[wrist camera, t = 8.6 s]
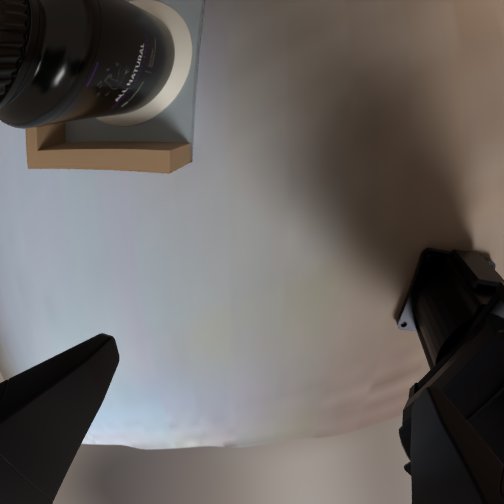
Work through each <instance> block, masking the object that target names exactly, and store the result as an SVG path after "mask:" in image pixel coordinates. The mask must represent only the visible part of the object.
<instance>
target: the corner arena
mask: <svg viewBox="0 0 504 504" xmlns="http://www.w3.org/2000/svg"><path fill="white" fill-rule="evenodd" d="M127 2H129V3H131V4H134V5H136V6H138V7H139V8H141V9H143V10H145V11H147V12H149V13H151V14H152V15H154V16H156V17H157V18H159V19H160V20H161V21H162V22H163V23H164V24H165V25H166V26H167V27H168V29H169V31H170V33H171V35H172V38H173V41H174V46H175V59H174V65H173V69H172V72H171V74H170V77H169V79H168V81H167V83H166V84H165V86H164V87H163V89H162V90H161V92H160V93H159V94H158V95H157V96H156V97H155V98H154V99H153V100H152V101H151V102H149V103H148V104H147V105H145V106H144V107H142V108H140V109H138V110H136V111H133V112H130V113H126V114H121V115H113V116H105V117H97V118H89V119H82V120H75V121H69V122H63V123H57V124H51V125H46V126H41V127H34V128H26V150H27V164H28V169H95V170H120V171H138V172H154V173H168V174H170V173H172V172H173V171H175V170H177V169H179V168H181V167H182V166H184V165H186V164H188V163H190V162H192V152H193V130H194V112H195V97H196V83H197V70H198V59H199V48H200V38H201V28H202V19H203V11H204V3H205V0H127Z"/></svg>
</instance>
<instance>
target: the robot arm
mask: <svg viewBox="0 0 504 504" xmlns="http://www.w3.org/2000/svg"><path fill="white" fill-rule="evenodd" d="M429 254H431V256H430V257H429V258H426V257H427V255H429ZM403 322H405V323H404V324H402V323H403ZM397 326H398V328H399V329H400V330H408V331H417V333H418V336H419V339H420V341H421V344H422V347H423V350H424V352H425V355H426V358H427V361H428V364H429V367H430V371H429V372H428V373H427V374H426V375H425V376H424V377H423V378H422V379H421V380H420V381H419V382H418V383H415V384H414V385H413V386H412V387H411V388H410V391H409V399H408V401H407V403H406V405H405V407H404V410H403V422H402V425H403V426H401V427H400V429H399V436H400V439H401V444H402V447H403V449H404V451H405V453H406V455H407V457H408V458H409V460H410V462H409V463H407V464H406V465H405V466H404V469H405V470H406V472H408V473H409V474H410V475H411V477H412V504H504V280H503V279H502V277H501V276H500V275H499V274H498V273H497V272H496V271H495V264H494V262H493V261H492V260H489V259H485V258H484V257H483V256H482V255H481V254H476V253H471V252H466V251H461V250H456V249H455V250H452V251H451V252H448V251H443V250H438V249H432V248H427V249H425V250H424V251H423V252H422V254H421V257H420V260H419V263H418V266H417V269H416V272H415V274H414V277H413V280H412V283H411V286H410V288H409V291H408V294H407V296H406V299H405V302H404V304H403V307H402V309H401V312H400V314H399V317H398V319H397ZM118 363H119V353H118V349H117V345H116V341H115V339H114V337H113V336H110V335H107V334H103V333H101V334H98V335H96V336H94V337H92V338H90V339H88V340H86V341H84V342H82V343H80V344H78V345H76V346H74V347H72V348H70V349H68V350H66V351H64V352H62V353H60V354H58V355H56V356H54V357H52V358H50V359H48V360H46V361H44V362H42V363H40V364H38V365H36V366H34V367H32V368H30V369H28V370H26V371H24V372H22V373H20V374H18V375H16V376H14V377H12V378H10V379H9V380H5V381H3V382H1V383H0V504H52V503H53V501H54V499H55V496H56V494H57V492H58V490H59V488H60V486H61V484H62V482H63V479H64V477H65V475H66V473H67V471H68V469H69V467H70V465H71V463H72V461H73V459H74V457H75V455H76V453H77V451H78V449H79V447H80V445H81V443H82V441H83V439H84V437H85V435H86V433H87V431H88V429H89V427H90V425H91V423H92V422H93V420H94V418H95V416H96V414H97V412H98V410H99V408H100V406H101V404H102V402H103V400H104V398H105V395H106V393H107V390H108V388H109V385H110V383H111V380H112V378H113V375H114V373H115V371H116V368H117V366H118Z"/></svg>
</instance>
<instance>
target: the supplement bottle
mask: <svg viewBox="0 0 504 504" xmlns="http://www.w3.org/2000/svg"><path fill="white" fill-rule="evenodd" d="M174 59H175V46H174V41H173V38H172V35H171V33H170V31H169V29H168V27H167V26H166V25H165V24H164V23H163V22H162V21H161V20H160V19H159V18H157V17H156V16H154V15H152V14H151V13H149V12H147V11H145V10H143V9H141V8H139V7H138V6H136V5H134V4H131V3H129V2H127V1H125V0H0V120H1V121H2V122H4V123H5V124H7V125H9V126H12V127H15V128H22V129H26V128H34V127H41V126H46V125H51V124H57V123H63V122H69V121H75V120H82V119H89V118H97V117H105V116H113V115H121V114H126V113H130V112H133V111H136V110H138V109H140V108H142V107H144V106H145V105H147V104H148V103H149V102H151V101H152V100H153V99H154V98H155V97H156V96H157V95H158V94H159V93H160V92H161V90H162V89H163V87H164V86H165V84H166V83H167V81H168V79H169V77H170V74H171V72H172V69H173V65H174Z"/></svg>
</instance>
